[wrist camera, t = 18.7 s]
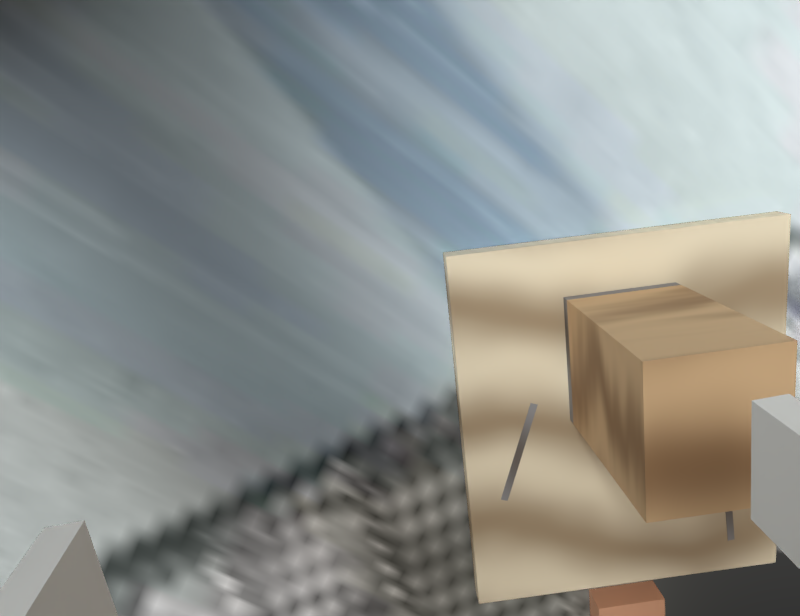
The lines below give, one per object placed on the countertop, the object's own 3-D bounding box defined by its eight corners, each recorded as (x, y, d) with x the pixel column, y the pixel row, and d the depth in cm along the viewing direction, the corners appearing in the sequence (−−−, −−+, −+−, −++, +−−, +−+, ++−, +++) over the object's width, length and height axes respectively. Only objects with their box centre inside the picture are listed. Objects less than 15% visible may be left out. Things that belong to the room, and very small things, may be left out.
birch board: (443, 252, 35) (446, 256, 34) (776, 211, 36) (791, 214, 34) (475, 590, 41) (479, 604, 39) (763, 550, 41) (775, 562, 40)
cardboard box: (563, 297, 35) (642, 361, 25) (675, 282, 35) (797, 340, 25) (570, 419, 37) (646, 523, 27) (676, 404, 37) (790, 502, 27)
